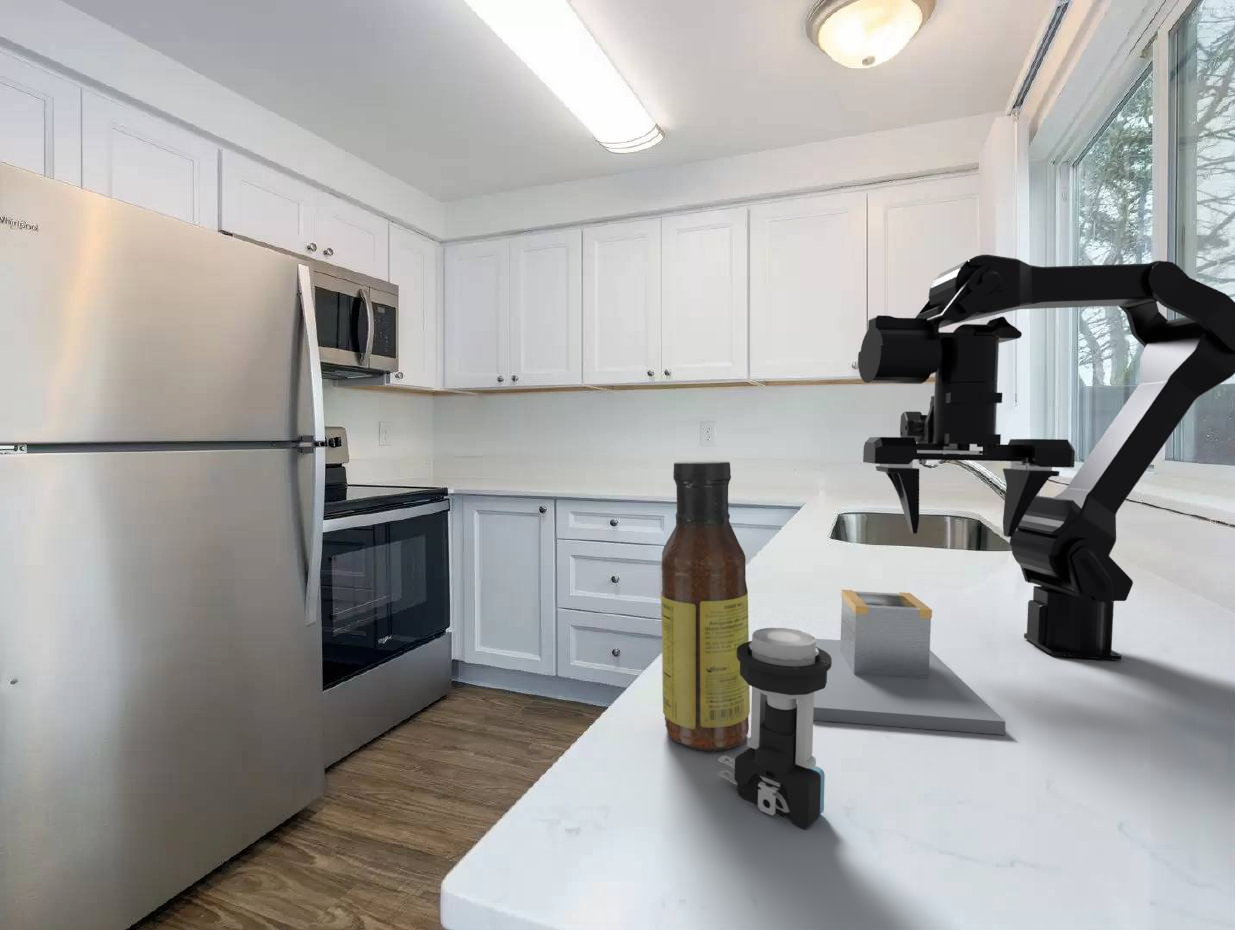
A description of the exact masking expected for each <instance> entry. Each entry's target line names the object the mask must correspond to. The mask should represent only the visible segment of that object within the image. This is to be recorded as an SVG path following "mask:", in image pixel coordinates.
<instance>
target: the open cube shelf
mask: <svg viewBox="0 0 1235 930" xmlns="http://www.w3.org/2000/svg"><path fill="white" fill-rule="evenodd" d="M840 592H841V593H840V596H841V615H840V616H841V618H840V620H841V621H840V640H841V643H840V652H841V654H842V656H843V657H844V659H845V661H846V662H847V664H848V665H849V667H850V669H851V670H852V672H853V674H854V675H869V676H883V677H898V678H913V679H927V680H929V658H930V650H931V624H932V623H931V622H932V617H933V609H932V608H930V607H929V606H927V605H926V604H925V603H923V601H921V600H920V599H919V598H917V597H916V596H915V595H913V593H911V592H898V593H897V592H896V593H895V592H893V593H892V592H873V591H854V590H852V589H841V591H840Z"/></svg>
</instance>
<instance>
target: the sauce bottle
mask: <svg viewBox="0 0 1235 930" xmlns="http://www.w3.org/2000/svg"><path fill="white" fill-rule="evenodd" d="M672 474H673V481H674V482H675V485H676V513H675V523H676V525H675V526H674V529H673V531H672V532H671V534H670V536H669V537H668V539H667V541H666V542H665V545H664V546H663V550H662V552H661V568H660V569H661V579H662V580H661V587H662V588H661V589H662V590H661V592H660V609H661V613H660V614H661V646H662V647H661V650H662V652H661V654H662V655H661V657H662V658H661V660H662V661H661V664H662V668H661V669H662V672H661V673H662V683H661V684H662V714H663V715H664V721H665V722H664V723H665V727H666V731H667V733H668V736H669V737H670V738H671V739H672V740H673V742H674V743H677V744H678V743H679V744H681V745H685V746H686V747H691V748H693V749H695V750H700V751H721V750H723V751H725V750H728V749H732V748H735V747H737V746H739V745H741V744H742V743H743V742H744V741H745V740H747V736H748V734H749V728H750V727H749V725H750V723H749V721H750V720H749V715H750V714H751V713H750V712H751V705H750V704H751V699H750V697H751V696H750V689H751V688H750V685H749V684H748V683H747V682H746V681H745V680H744V679H743V677H742V676H741V675H740V661H739V660H738V659H737V656H736V655H737V648H738V646H740V645H741V644H743V643H746V642H749V640H750V639H749V595H748V591H749V590H748V586H747V580H746V578H747V577H746V574H747V573H746V561H747V560H746V559H747V558H746V554H745V552H744V550H743V548H742V545H741V544H740V542H739V540H738V538H737V536H736V533H735V531H734V529H733V527H732V525H731V522H730V518H731V515H730V513H729V485H730V481H731V479H732V475H731V463H730V461H728V460H679V461H675V462H674V463H673V473H672Z"/></svg>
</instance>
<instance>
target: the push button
mask: <svg viewBox="0 0 1235 930" xmlns="http://www.w3.org/2000/svg"><path fill="white" fill-rule="evenodd" d="M751 638H752V639H751V640H750V641H749V642H746V643H743V644H741V645H740V646H738V648H737V655H736V656H737V659H738V660H739V661H740V675H741V676H742V677H743V679H744V680H745V681H746V682H747V683H748V684H749V687H751V707H750V712H751V713H750V714H751V717H750V718H751V719H750V721H751V722H750V737H748V738H747V739H746V741H747V743H746V745H747V747H748V748H747V749H746V750H745V751H742V752H741V753H740V754H738V755H736V756H735V758H733V757H730V756H727V755H725V754H724V755H721V756H720V757H719V758H717V761H718V762H720V763H723V764H725V765H727V766H730V768H732V769H733V770H734V772H731V771H729V770H727V769H722V770H720V771H719V772H718V773H717V776H718V777H720V778H722V779H723V778H724V779H725V780H728V781H730V783H731V784H733V785H736V786H737V787H736V788H737V789H736V791H737V795H738V796H739V797H740V798H741V799H743V800H745V801H747V802H750V803H752V804H755V805H757V808H758V809H759V811H761V812H762V813H766V814H767V815H770V816H775V815H776V814H778V815H779V816H782V817H784V818H787V819H788V820H790V821H791V823H792V824H793V825H794V826H796V827H798V828H800V829H803V830H805V829H808V828H809V826H810V825H811V824H812V823H813V822H815V820H816V819H818V818H819V817H820V816H821V815H822V814H823V813H824V810H825V780H826V779H825V778H826V777H825V776H826V775H825V771H824V770H823V768H821V767H819V766H817V758H816V757H815V756H813V741H814V739H813V738H814V737H813V736H814V734H813V733H814V720H813V710H814V692H815V691H818V690H821V689H824V688H825V686H826V683H827V671H828V670H829V669H830V668H831V664H832V658H831V656H830V655H829V654H828V653H827V652H825V651H824V650H822V649H820V648H817V647H816V639H817V638H816V637H815V636H814V635H811V634H810V633H809V632H805V631H801V630H799V629H792V628H787V627H766V628H759V629H755V631H753V632H752V636H751ZM727 760H728V761H727Z"/></svg>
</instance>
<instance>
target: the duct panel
mask: <svg viewBox="0 0 1235 930" xmlns="http://www.w3.org/2000/svg"><path fill="white" fill-rule="evenodd" d="M815 639H816V647H817V648H820V649H822V650H824V651H825V652H827V653H828V654H829V655H830V656H831V658H832V664H831V668H830V669H829V670H828V671H827V683H826V686H825V688H824V689H821V690H818V691H815V692H814V710H813V721H822V722H834V723H846V724H861V725H862V724H863V725H873V726H886V727H897V728H898V727H899V728H909V729H910V728H911V729H922V730H923V729H924V730H937V731H946V732H947V731H949V732H960V733H963V732H964V733H974V734H975V733H976V734H986V735H987V734H988V735H1000V736H1001V735H1002V736H1005V735H1006V721H1005V719H1004V718H1003V717H1001V716H1000V715H999V714H998V713H997V712H996V711H995V710H994V709H993V708H992V707H991V706H990V705H988V703H987V702H985V700H983V698H981V697H980V696H979V695H978V694H977V693H976V692H975V691H974V690H973V689H972V688H971V687H970V686H969V685H968V684H967V683H966V682H964V681H963V679H962V678H960V677H959V676H958V675H957V674H956V673H955V672H954V671H953V670H952V669H951V668H950V667H949V666H948V665H947V664H946V663H944V661H942V660H941V659H940V658H939V657H938V656H937V654H935V653H934V652H933V651H932V650H931V649H930V658H929V680H927V679H913V678H898V677H883V676H869V675H854V674H853V672H852V670H851V669H850V667H849V665H848V664H847V662H846V661H845V659H844V657H843V656H842V654H841V652H840V643H841V639H829V638H826V639H825V638H815Z"/></svg>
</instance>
